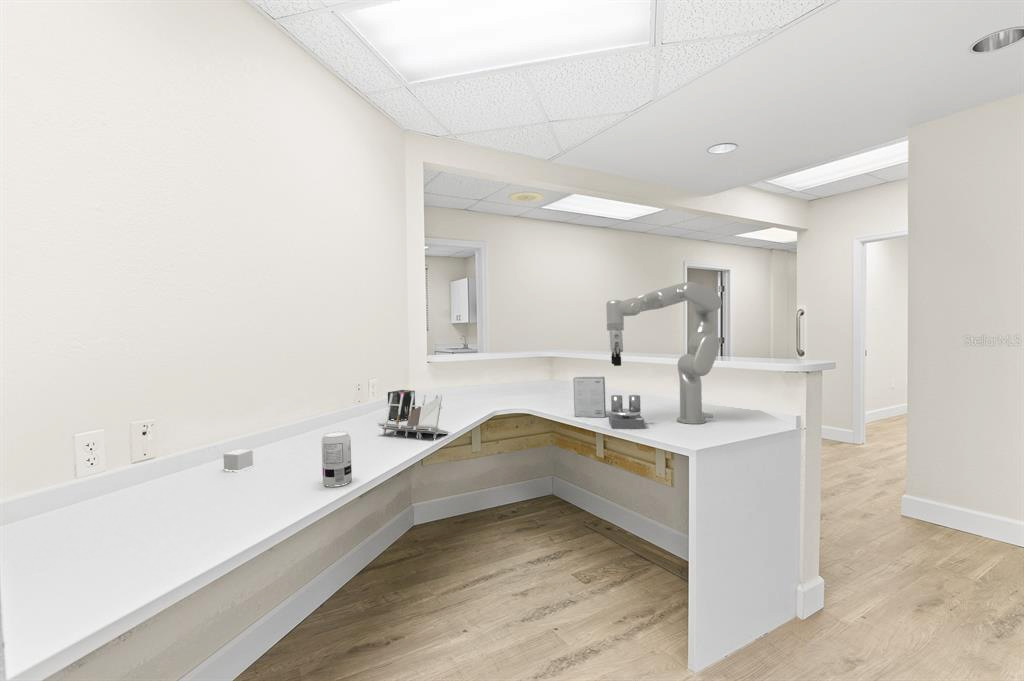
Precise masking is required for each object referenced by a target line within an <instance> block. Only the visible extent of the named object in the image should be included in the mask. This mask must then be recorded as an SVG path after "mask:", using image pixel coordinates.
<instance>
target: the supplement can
mask: <svg viewBox="0 0 1024 681" xmlns="http://www.w3.org/2000/svg"><path fill="white" fill-rule="evenodd" d="M351 445H352V444H351V436H350V434H349V432H347V431H344V430H343V431H339V430H338V431H332V432H327V433H325V434H323V437H322V439H321V460H322V462H321V464H322V465H321V466H322V467H321V468H322V484H323V485H324V486H325V485H328V486H335V485H342V484H345V483H348V482H349V483H351V481H352V480H353V474H352V469H353V468H352V446H351ZM349 483H348V484H349Z"/></svg>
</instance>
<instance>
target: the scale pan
mask: <svg viewBox="0 0 1024 681" xmlns="http://www.w3.org/2000/svg"><path fill="white" fill-rule="evenodd" d="M610 412H611V413H610V414H613V415H618V416H622V417H629V416H636V415H640V416H641V410H640V412H630V411H629V408H623V411H622V412H612V411H610Z"/></svg>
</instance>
